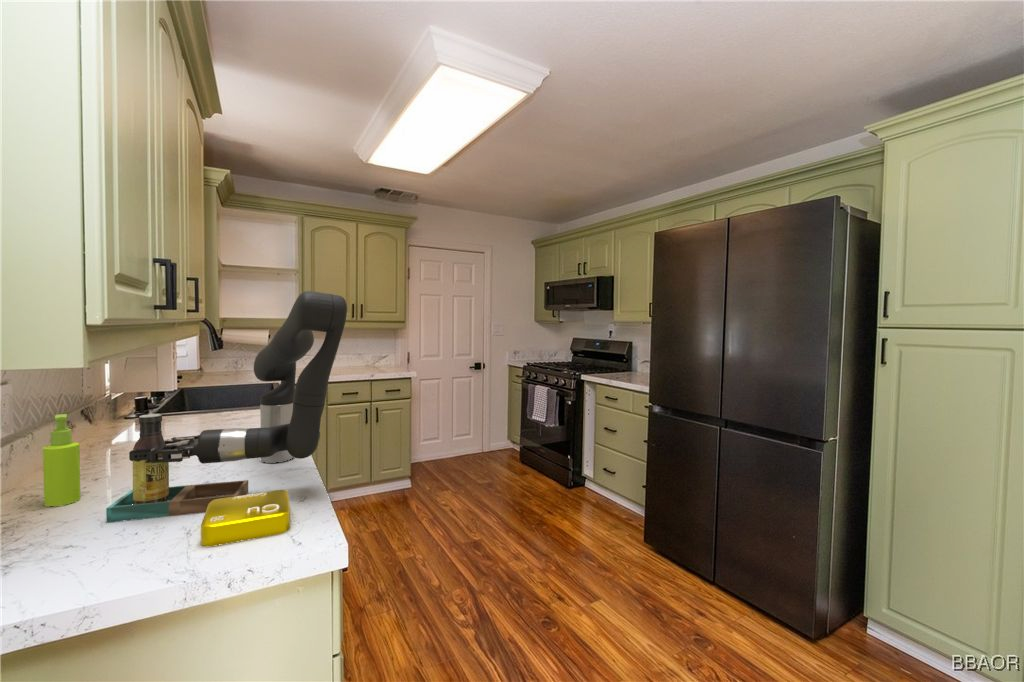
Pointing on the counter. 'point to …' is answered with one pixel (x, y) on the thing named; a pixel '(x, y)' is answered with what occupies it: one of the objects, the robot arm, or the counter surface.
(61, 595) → the counter surface
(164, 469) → the sauce bottle
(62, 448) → the soap dispenser
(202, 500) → the twin dock
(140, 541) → the counter surface
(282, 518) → the element tile
